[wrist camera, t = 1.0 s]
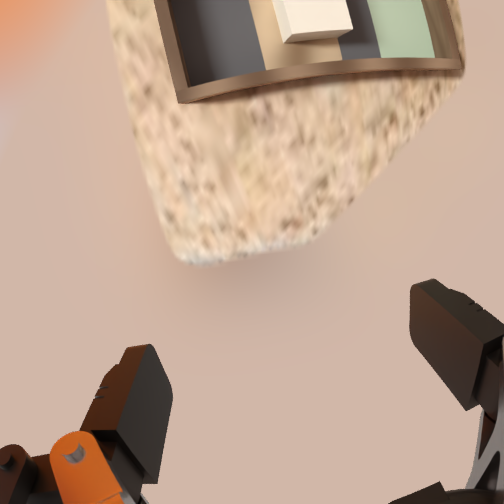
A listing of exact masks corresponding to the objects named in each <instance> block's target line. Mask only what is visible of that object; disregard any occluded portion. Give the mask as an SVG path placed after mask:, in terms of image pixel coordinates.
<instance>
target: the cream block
mask: <svg viewBox="0 0 504 504" xmlns="http://www.w3.org/2000/svg"><path fill="white" fill-rule="evenodd" d="M272 2H273V6H274V10H275V13H276V17H277V21H278V25H279V29H280V32H281V36H282V40H283V43H289V42H297V41H306V40H315V39H327V38H338V37H339V36H341V35H343V34H345V33H347V32H349V31H351V30H353V26H352V22H351V19H350V15H349V11H348V8H347V4H346V0H272Z"/></svg>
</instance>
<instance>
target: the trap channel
mask: <svg viewBox="0 0 504 504" xmlns="http://www.w3.org/2000/svg"><path fill="white" fill-rule="evenodd" d="M154 3H155V8H156V12H157V17H158V21H159V26H160V30H161V34H162V38H163V43H164V47H165V51H166V55H167V60H168V64H169V68H170V72H171V76H172V80H173V84H174V88H175V92H176V96H177V100H178V103H180V104H186V103H190V102H193V101H197V100H201V99H205V98H209V97H213V96H217V95H221V94H225V93H230V92H234V91H238V90H243V89H248V88H253V87H258V86H263V85H268V84H274V83H280V82H286V81H292V80H298V79H305V78H313V77H320V76H329V75H338V74H348V73H360V72H374V71H395V70H454V69H462V67H461V62H460V56H459V51H458V46H457V41H456V37H455V33H454V28H453V24H452V20H451V16H450V13H449V9H448V5H447V2H446V0H346V4H347V8H348V11H349V15H350V19H351V22H352V26H353V30H351V31H349V32H347V33H345V34H343V35H341V36H339V37H338V38H327V39H315V40H306V41H297V42H289V43H283V40H282V36H281V32H280V29H279V25H278V21H277V17H276V13H275V10H274V6H273V2H272V0H154Z"/></svg>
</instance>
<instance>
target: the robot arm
mask: <svg viewBox="0 0 504 504" xmlns="http://www.w3.org/2000/svg"><path fill="white" fill-rule="evenodd" d="M409 328H410V336H411V339H412V342H413V344H414V345H415V347H416V348H417V349H418V350H419V352H420V353H421V354H422V355H423V357H425V359H426V360H427V361H428V363H429V364H430V365H431V367H433V369H434V370H435V372H436V373H437V374H438V375H439V377H440V378H441V379H442V380H443V382H444V383H445V384H446V386H447V387H448V388H449V389H450V391H451V392H452V393H453V395H454V396H455V397H456V398H457V400H458V401H459V403H460V404H461V405H462V406H463V408H464V409H465V411H467V410H470V409H471V408H473V407H475V406H477V405H479V404H480V405H481V407H482V408H483V410H482V412H481V416H480V424H479V432H478V439H477V446H476V452H475V457H474V463H473V468H472V472H471V474H470V477H469V479H468V482H467V484H466V487H465V489H458V490H450V491H444V488H443V486H442V485H441V483H440V481H439V482H437V483H435V484H433V485H431V486H428V487H426V488H424V489H421V490H419V491H417V492H414V493H412V494H410V495H407V496H405V497H402V498H399V499H397V500H394V501H392V502H390V503H389V504H504V324H503V323H501V322H500V321H499V320H497V318H495V317H494V316H493V315H492V314H490V313H489V312H488V311H486V310H483V308H482V307H481V306H480V305H479V304H477V303H475V301H473V300H472V299H471V298H469V297H468V296H467V295H465V294H464V293H461V292H458V291H455V290H452V289H448V288H447V287H445V286H444V285H443V284H441V283H440V282H439V281H437V280H436V279H430V280H427V281H423V282H420V283H417V284H414V285H412V287H411V290H410V325H409ZM172 401H173V393H172V388H171V384H170V382H169V379H168V377H167V375H166V373H165V371H164V368H163V366H162V364H161V362H160V359H159V357H158V355H157V353H156V351H155V348H154V347H153V346H152V345H151V344H146V345H139V346H133V347H128V348H126V350H125V352H124V354H123V356H122V358H121V361H120V363H119V364H116V365H115V366H114V367H113V368H112V369H111V370H110V371H109V372H108V373H107V374H106V375H105V376H104V378H103V380H102V383H101V384H100V389H98V391H97V393H96V395H95V399H93V402H92V404H91V406H90V408H89V410H88V412H87V415H86V417H85V419H84V421H83V423H82V426H81V428H80V430H79V431H75V432H71V433H68V434H66V435H64V436H63V437H61V438H60V439H59V440H58V441H57V442H56V443H55V444H54V445H53V447H52V449H51V451H50V454H45V455H40V456H35V457H30V456H29V455H28V453H27V452H26V451H25V450H24V449H23V448H22V447H21V446H19V445H16V444H11V445H7V446H5V447H3V448H1V449H0V504H149V503H148V501H147V500H146V499H145V497H144V496H143V495H142V494H141V488H142V484H157V483H158V477H159V471H160V465H161V459H162V454H163V448H164V443H165V438H166V432H167V427H168V421H169V416H170V412H171V406H172Z"/></svg>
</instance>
